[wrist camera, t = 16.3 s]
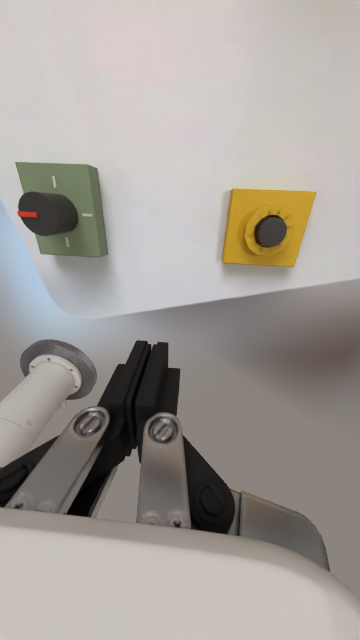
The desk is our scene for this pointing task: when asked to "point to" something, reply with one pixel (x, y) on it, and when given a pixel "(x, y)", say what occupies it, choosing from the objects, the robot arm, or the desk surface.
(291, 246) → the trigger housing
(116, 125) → the desk surface
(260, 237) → the cylinder
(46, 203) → the knob
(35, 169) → the dial panel
